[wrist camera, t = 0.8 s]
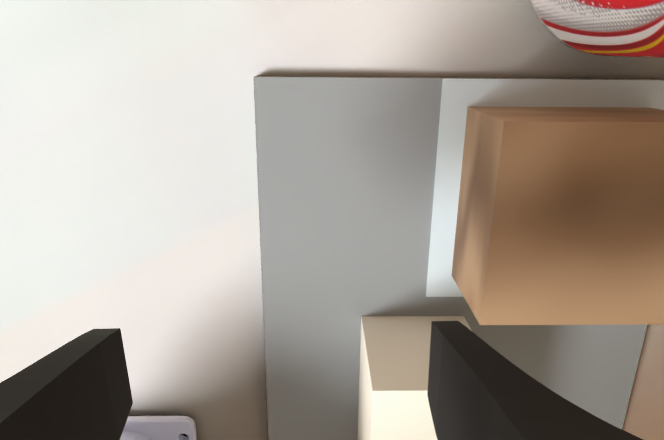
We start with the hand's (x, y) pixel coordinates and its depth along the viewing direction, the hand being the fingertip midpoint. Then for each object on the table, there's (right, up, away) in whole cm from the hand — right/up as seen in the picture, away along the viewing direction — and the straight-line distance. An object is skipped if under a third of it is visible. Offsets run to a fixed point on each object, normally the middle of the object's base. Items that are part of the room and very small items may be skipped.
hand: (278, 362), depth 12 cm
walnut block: (+10, +4, +8) cm, 14 cm away
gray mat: (+7, 0, +10) cm, 13 cm away
